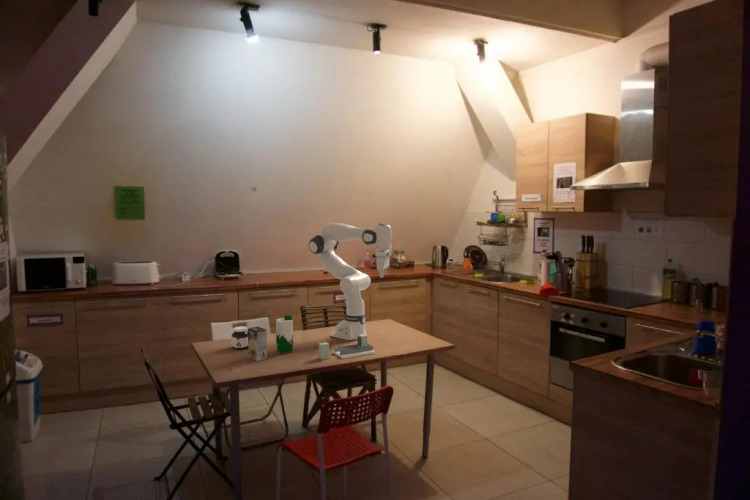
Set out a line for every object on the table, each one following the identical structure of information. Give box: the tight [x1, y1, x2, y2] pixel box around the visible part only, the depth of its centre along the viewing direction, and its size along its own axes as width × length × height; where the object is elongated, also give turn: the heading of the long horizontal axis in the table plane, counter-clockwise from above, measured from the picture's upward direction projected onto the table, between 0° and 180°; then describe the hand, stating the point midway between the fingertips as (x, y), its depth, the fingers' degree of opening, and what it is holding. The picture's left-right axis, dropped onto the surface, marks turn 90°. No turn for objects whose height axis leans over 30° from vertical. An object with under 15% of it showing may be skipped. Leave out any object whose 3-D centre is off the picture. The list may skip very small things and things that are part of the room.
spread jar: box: [230, 326, 248, 350], centre depth 290 cm, size 12×11×12 cm
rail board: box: [332, 334, 376, 360], centre depth 280 cm, size 20×12×10 cm, turn 120°
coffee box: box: [247, 326, 268, 362], centre depth 271 cm, size 9×6×16 cm
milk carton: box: [275, 314, 294, 354], centre depth 283 cm, size 9×9×20 cm
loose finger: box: [318, 341, 330, 361], centre depth 272 cm, size 4×4×8 cm
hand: (383, 276), depth 289 cm, fingers open, 8 cm apart
